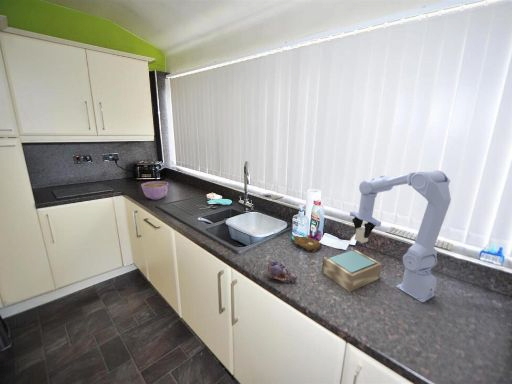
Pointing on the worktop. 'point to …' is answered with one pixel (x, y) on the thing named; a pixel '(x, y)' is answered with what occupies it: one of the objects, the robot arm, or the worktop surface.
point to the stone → (360, 235)
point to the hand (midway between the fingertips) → (362, 235)
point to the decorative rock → (307, 243)
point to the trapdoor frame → (349, 279)
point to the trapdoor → (352, 261)
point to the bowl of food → (155, 189)
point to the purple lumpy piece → (280, 272)
